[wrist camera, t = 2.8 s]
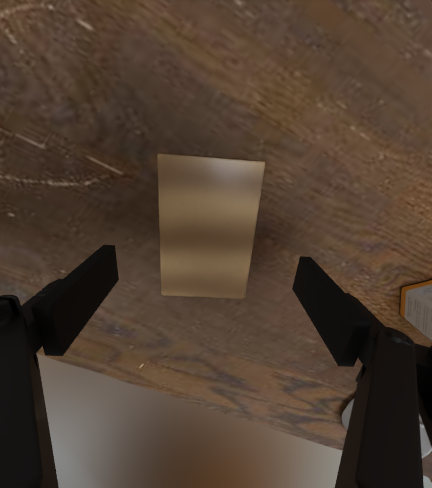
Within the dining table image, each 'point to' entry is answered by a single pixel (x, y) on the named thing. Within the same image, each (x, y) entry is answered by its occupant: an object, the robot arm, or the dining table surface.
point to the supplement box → (418, 306)
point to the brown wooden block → (207, 223)
